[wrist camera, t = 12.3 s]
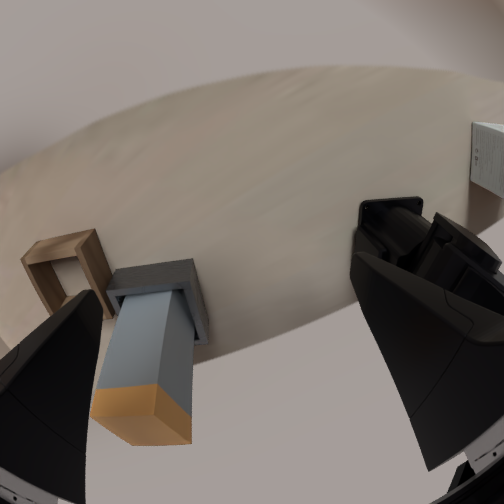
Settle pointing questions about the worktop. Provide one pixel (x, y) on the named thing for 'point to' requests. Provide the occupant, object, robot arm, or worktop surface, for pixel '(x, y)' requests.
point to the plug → (149, 371)
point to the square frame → (62, 247)
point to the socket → (162, 288)
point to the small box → (488, 157)
